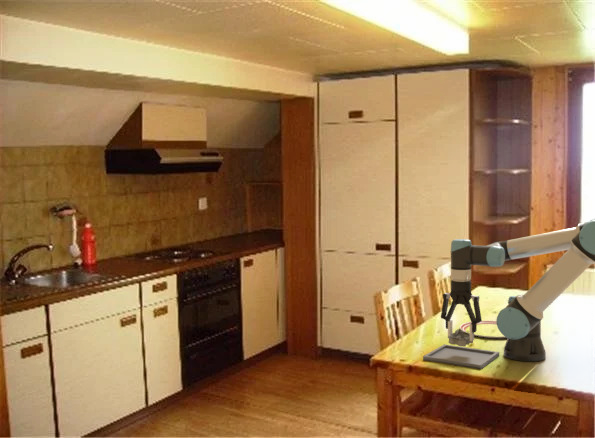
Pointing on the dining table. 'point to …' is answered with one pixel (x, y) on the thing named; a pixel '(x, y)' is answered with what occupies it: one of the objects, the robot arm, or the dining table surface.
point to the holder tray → (461, 356)
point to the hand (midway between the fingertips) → (460, 338)
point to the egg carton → (459, 338)
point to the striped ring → (465, 325)
